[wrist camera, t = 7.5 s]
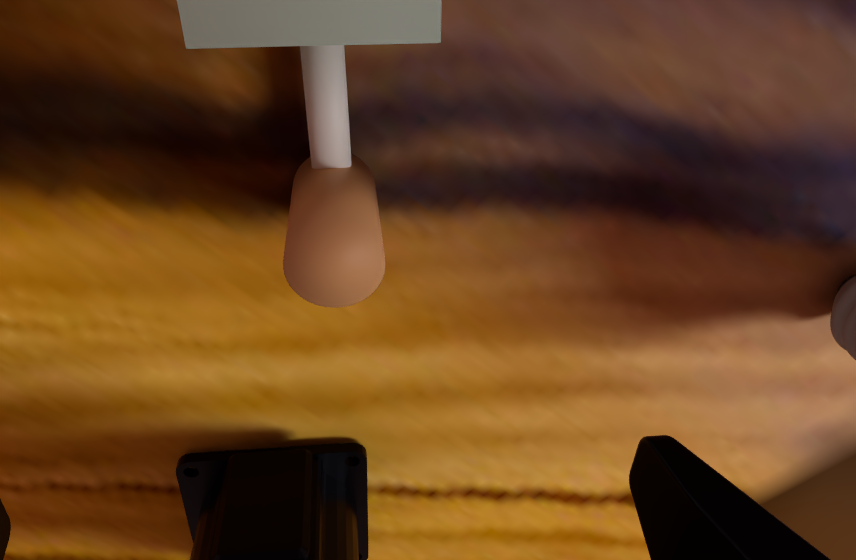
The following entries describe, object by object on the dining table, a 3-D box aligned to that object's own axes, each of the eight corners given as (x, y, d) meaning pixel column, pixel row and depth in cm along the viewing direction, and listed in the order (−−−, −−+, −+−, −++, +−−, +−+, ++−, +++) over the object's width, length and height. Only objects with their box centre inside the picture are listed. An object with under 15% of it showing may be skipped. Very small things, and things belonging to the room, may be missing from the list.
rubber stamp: (415, 213, 19) (436, 300, 15) (256, 221, 18) (236, 314, 14) (413, -207, 13) (444, -237, 10) (189, -211, 13) (130, -245, 9)
